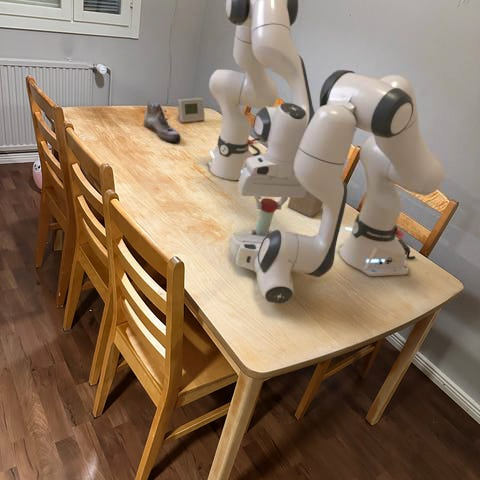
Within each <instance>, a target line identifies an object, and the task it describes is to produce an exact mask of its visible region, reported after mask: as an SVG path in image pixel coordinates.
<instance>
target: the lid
mask: <svg viewBox="0 0 480 480" xmlns="http://www.w3.org/2000/svg"><path fill="white" fill-rule="evenodd" d="M260 200H261V201H260V202H261V203H262V204H263V205H262V210H264V211H267V212H274V213H275V212H276V211H277V210H276V208H277V202H278V201H276V200H274V199H272V198H270V197H264V198H261V199H260Z"/></svg>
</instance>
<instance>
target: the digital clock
mask: <svg viewBox="0 0 480 480" xmlns="http://www.w3.org/2000/svg"><path fill="white" fill-rule="evenodd" d="M177 109H178V110H177V112H178V120H179V123H187V124H188V123H196V122H197V123H198V122H200V121H204V120H205V118H206V117H205V106H204V98H203V97H187V98H182V99H178V100H177Z"/></svg>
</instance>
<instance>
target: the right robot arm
mask: <svg viewBox="0 0 480 480" xmlns="http://www.w3.org/2000/svg"><path fill="white" fill-rule="evenodd" d="M324 80H325V81H324V82H323V84H322V86H321V88H320V92H319V108H317V110H316V111H314V112H315V114H314V116H313V117H312V119H311V121H310V123H309V125H308V127H307V129H306V131H305V133H304V135H303V137H302V140H301V142H300V145H299V148H298V151H297V153H296V157H295V161H294V166H293V169H294V174H295V177H296V179H297V180H298V182H299V183H300V184H301V185H302V187H303V188H305V189H306V190H307V191H308V192H309V193H311V194H312V195H314V196H315V197H317V198H318V199H319V200H321V201H322V202H323V211H322V215H321V218H320V219H321V220H320V224H319V227H318V233H317V234H316V235H312V236H311V235H307V234H306V235H305V234H300V233H296V232H292V231H287V230H281V229H275V230H269V232H268V236H258V235H255V234H256V231H255V229H252V228H250V229H249V233H237V232H233V233H232V234H230V238H229V249H230V252H231V254H232V257H234V259H235V264H236V266H238V267H240V268H244V269H247V270H250V271H252V272H254V273H255V274H256V280H257V285H258V288H259V291H260V293H261V295H262V297H263V299H264V300H265V301H266V302H268V303H271V304H277V305H278V304H284V303H287V302H289V301H290V300H292V298H293V296H294V293H295V292H294V284H293V279H292V275H291V273H292V272H296V273H300V274H305V275H308V276H312V277H315V278H321V277H322V276H324V275H325V274H327V273H328V272H329V271H330V270H331V269H332V268H333V266H334V263H335V257H336V247H337V243H338V237H339V234H340V229H341V226H342V222H343V218H344V213H345V209H346V205H347V199H348V186H347V184H346V182H345V181H344V180H343V179H344V178H343V171H344V167H345V164H346V162H347V159H348V157H349V155H350V152H351V148H352V145H353V142H354V141H353V140H354V136H355V133H356V132H357V130H358V129H359V130H362V131H365V132H368V133H371V134H372V135H370V136H368V137H367V138H366V139H365V140H364V141H363V143H362V144H361V146H360V149H359V160H360V163H361V165H362V166H363V169H364V173H365V179H366V190H365V191H366V192H365V197H364V200H363V202H362V205H361V208H360V211H359V213H358V214H357V216H356V217H355V220H354V222H353V225H352V227H347V226H345V228H344V230H346V231H351V232H350V234H349V235H348V237H347V239H346V241H345V242H344V243H343V245H342V246H341V247H340V249H339V250H338V251H339V252H338V253H339V256H340V257H341V259H342V260H343V261H344V262H345V263H346V264H348V265H349V266H350V267H353V268H355V269H357V270H359V271H361V272H363V273H364V274H365V275H367V276H369V277H382V276H385V277H386V276H399V275H408V273H409V266H408V263H407V262H406V259H408V260H412V259H416V256H415V255H413V256H410V254H411V248H410V246H408V244H407V243H406V242H405V241H404V240H403V239H401V238H403V237H404V232H403V231H402V230H401V229H398V228H399V227H398V226H397V225H396V224H397V222H398V220H399V217H400V215H401V212H402V210H403V206H404V205H403V199H402V197H401V196H400V194H399V193H398V191H397V186H398V187H400V188H401V189H404V190H406V191H407V192H409V193H412V194H416V195H421V196H423V197H425V196H428V195H431V194H433V193H435V192H436V191H437V190H438V189H440V187H441V186H442V185H443V182H444V181H445V176H446V169H445V166H444V165H443V164H442V163H441V162H440V161H439V160H438V158H437V157H436V156H435V155H434V153H432V151H431V150H430V149H429V147H428V145H427V143H426V141H425V140H424V137H423V135H422V134H421V131H420V130H421V129H420V125H419V116H418V115H419V113H418V105H417V100H416V96H415V93H414V89H413V87H412V84H411V82H410V81H409V80H408V79H407V78H406V77H405V76H402V75H399V74H389V75H385V76H383V77H381V78H379V79H378V78H377V77H371V76H368V75H364V74H362V73H361V74H360V73H356V72H355V71H353V70H350V69H349V70H347V69H337V70H335V71H333V72H332V73H331V74H329V76H328V77H327V78H326V79H324Z"/></svg>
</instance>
